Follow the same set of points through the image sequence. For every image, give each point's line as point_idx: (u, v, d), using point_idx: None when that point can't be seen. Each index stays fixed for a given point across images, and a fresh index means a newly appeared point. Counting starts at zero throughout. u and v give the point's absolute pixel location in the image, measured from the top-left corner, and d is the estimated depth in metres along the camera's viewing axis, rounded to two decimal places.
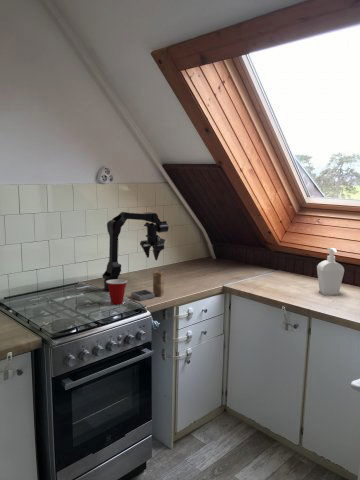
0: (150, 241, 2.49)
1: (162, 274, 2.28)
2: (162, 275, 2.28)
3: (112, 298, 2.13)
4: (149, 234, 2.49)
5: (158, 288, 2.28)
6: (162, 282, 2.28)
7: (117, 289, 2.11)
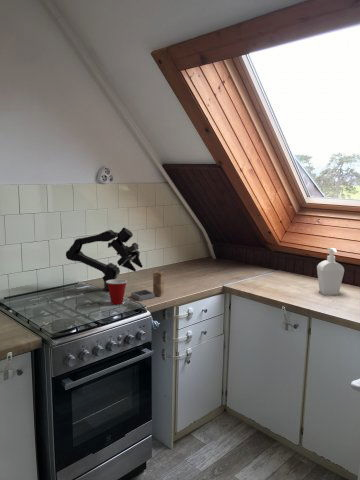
0: (121, 257, 2.33)
1: (162, 274, 2.28)
2: (162, 275, 2.28)
3: (112, 298, 2.13)
4: (116, 251, 2.34)
5: (158, 288, 2.28)
6: (162, 282, 2.28)
7: (117, 289, 2.11)
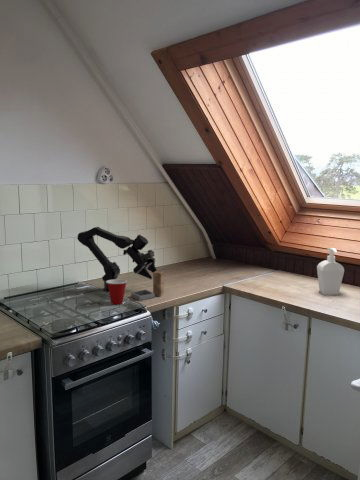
0: (137, 264, 2.30)
1: (162, 274, 2.28)
2: (162, 275, 2.28)
3: (112, 298, 2.13)
4: None
5: (158, 288, 2.28)
6: (162, 282, 2.28)
7: (117, 289, 2.11)
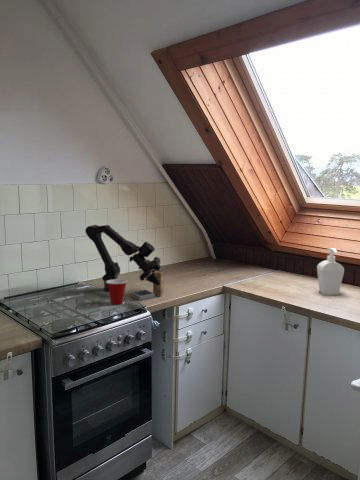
0: (143, 271, 2.29)
1: (162, 274, 2.28)
2: (162, 275, 2.28)
3: (112, 298, 2.13)
4: None
5: (158, 288, 2.28)
6: (162, 282, 2.28)
7: (117, 289, 2.11)
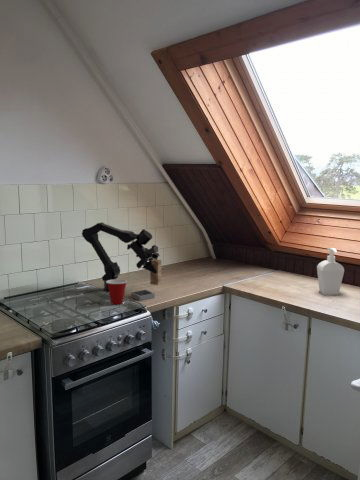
0: (141, 259, 2.28)
1: (159, 262, 2.26)
2: (159, 263, 2.26)
3: (112, 298, 2.13)
4: (136, 254, 2.29)
5: (155, 277, 2.26)
6: (159, 271, 2.26)
7: (117, 289, 2.11)
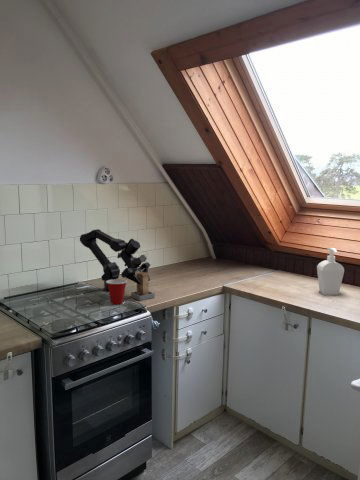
0: None
1: (146, 275, 2.23)
2: (145, 276, 2.23)
3: (112, 298, 2.13)
4: None
5: (140, 290, 2.24)
6: (145, 284, 2.24)
7: (117, 289, 2.11)
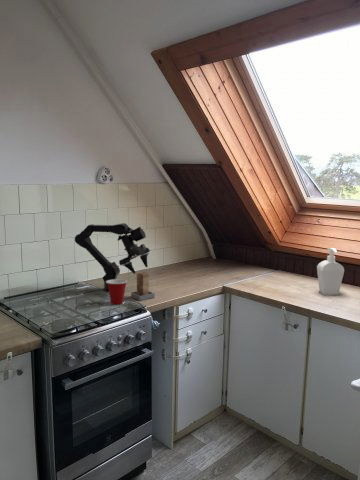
0: None
1: (146, 275, 2.23)
2: (145, 276, 2.23)
3: (112, 298, 2.13)
4: None
5: (140, 290, 2.24)
6: (145, 284, 2.24)
7: (117, 289, 2.11)
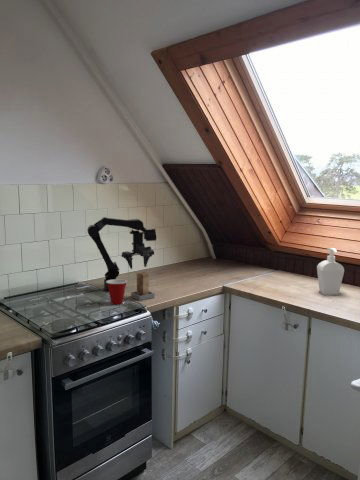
0: None
1: (146, 275, 2.23)
2: (145, 276, 2.23)
3: (112, 298, 2.13)
4: None
5: (140, 290, 2.24)
6: (145, 284, 2.24)
7: (117, 289, 2.11)
